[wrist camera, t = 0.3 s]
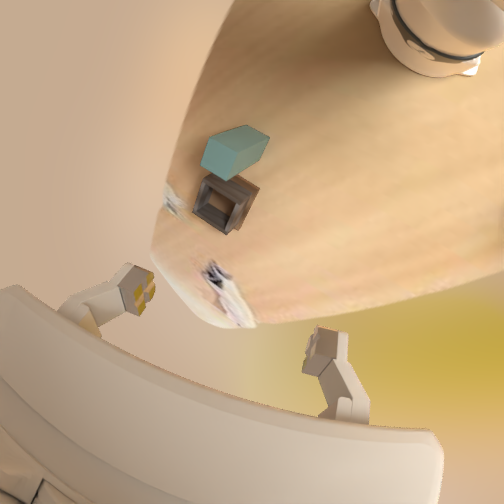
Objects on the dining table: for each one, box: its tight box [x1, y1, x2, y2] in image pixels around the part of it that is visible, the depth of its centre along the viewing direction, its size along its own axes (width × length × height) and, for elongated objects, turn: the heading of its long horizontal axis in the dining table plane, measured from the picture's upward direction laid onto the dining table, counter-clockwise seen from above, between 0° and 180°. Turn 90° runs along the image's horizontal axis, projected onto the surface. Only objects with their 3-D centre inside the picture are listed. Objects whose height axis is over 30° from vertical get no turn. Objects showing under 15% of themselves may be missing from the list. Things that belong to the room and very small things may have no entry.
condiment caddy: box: [192, 173, 260, 235], centre depth 53 cm, size 11×10×6 cm
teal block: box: [200, 125, 270, 181], centre depth 42 cm, size 5×5×12 cm
